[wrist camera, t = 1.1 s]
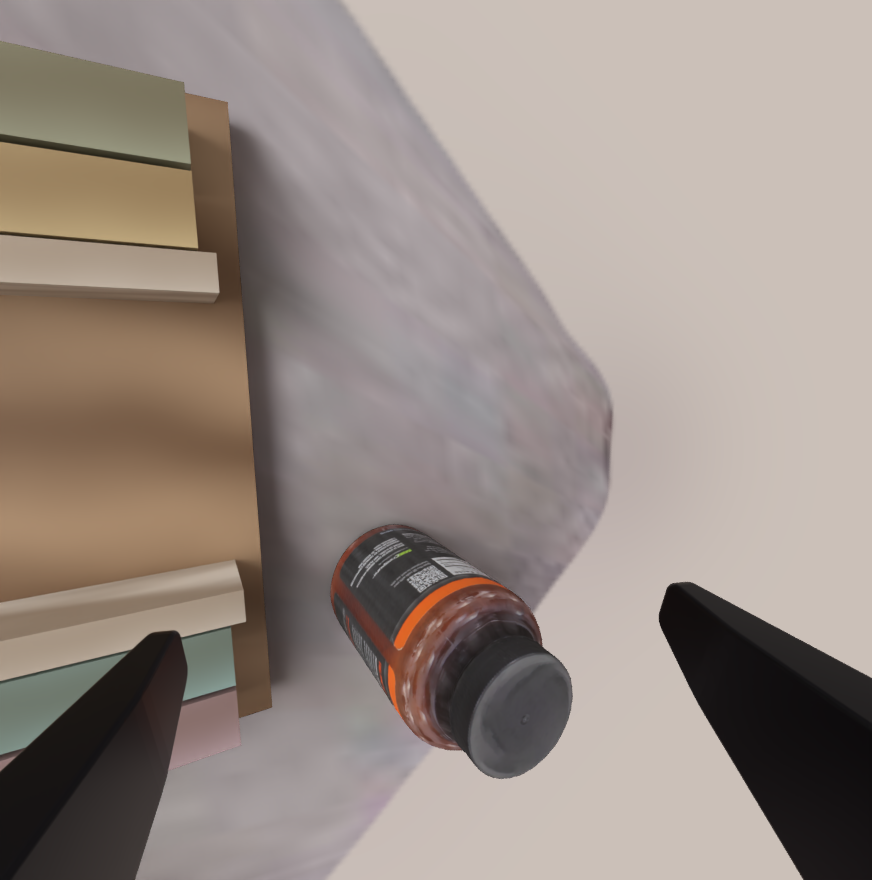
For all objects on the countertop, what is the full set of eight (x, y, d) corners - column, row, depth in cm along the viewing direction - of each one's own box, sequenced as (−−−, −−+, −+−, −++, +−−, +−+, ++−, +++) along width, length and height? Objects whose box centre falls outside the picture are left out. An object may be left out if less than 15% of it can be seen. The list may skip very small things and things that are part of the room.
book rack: (266, 687, 22) (285, 756, 18) (-93, 796, 17) (-176, 928, 13) (224, 120, 19) (236, 55, 15) (-259, 24, 13) (-448, -124, 9)
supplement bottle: (390, 652, 25) (526, 838, 15) (300, 600, 23) (395, 784, 13) (456, 558, 26) (623, 673, 16) (379, 497, 24) (522, 592, 14)
